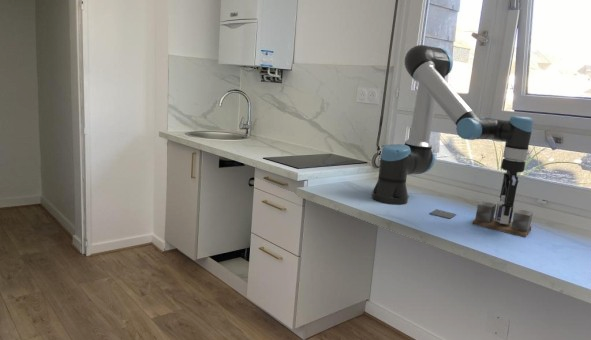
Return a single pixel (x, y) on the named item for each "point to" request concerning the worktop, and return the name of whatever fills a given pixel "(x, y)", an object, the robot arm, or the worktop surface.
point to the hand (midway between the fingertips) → (502, 221)
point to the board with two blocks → (487, 220)
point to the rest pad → (442, 214)
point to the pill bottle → (499, 210)
